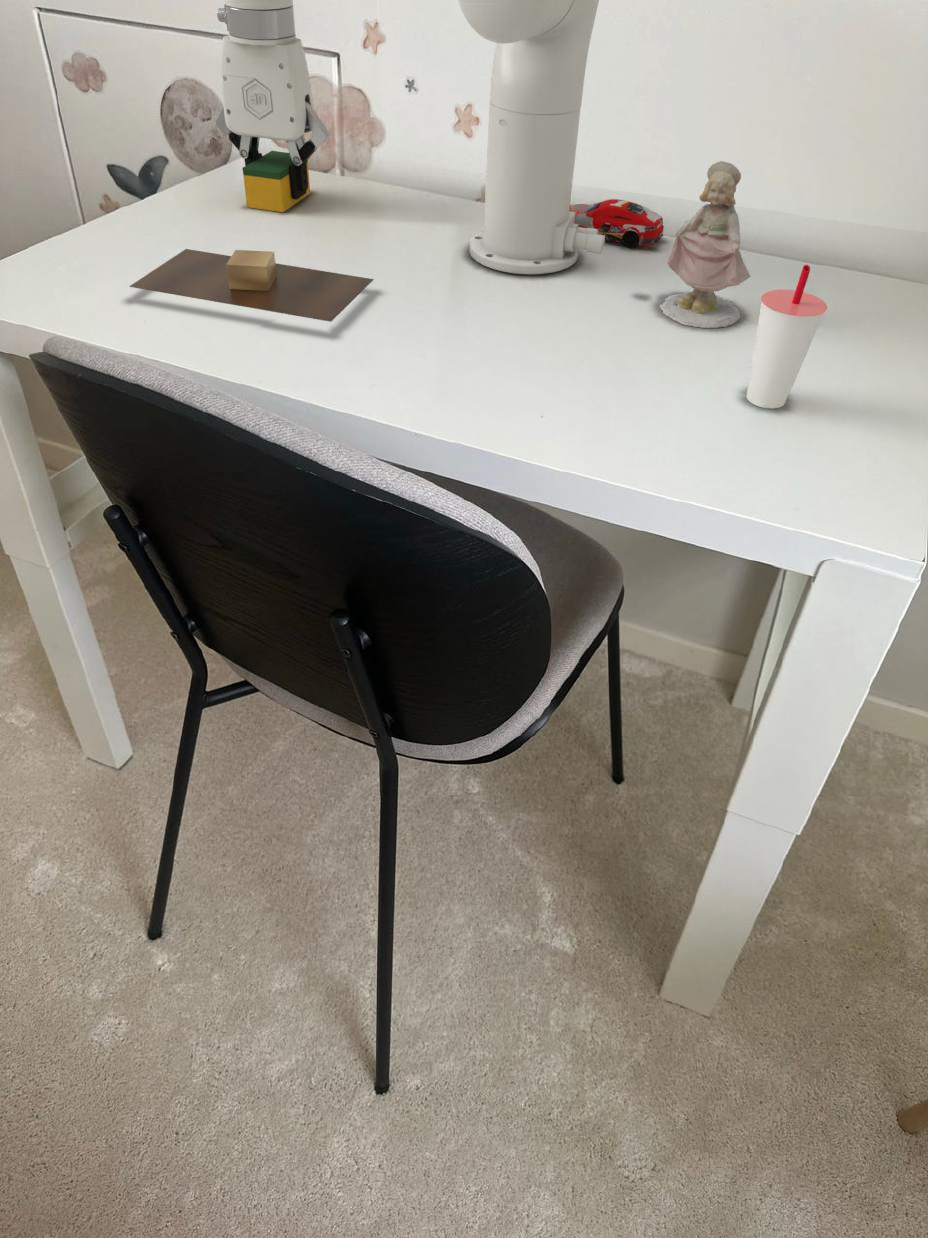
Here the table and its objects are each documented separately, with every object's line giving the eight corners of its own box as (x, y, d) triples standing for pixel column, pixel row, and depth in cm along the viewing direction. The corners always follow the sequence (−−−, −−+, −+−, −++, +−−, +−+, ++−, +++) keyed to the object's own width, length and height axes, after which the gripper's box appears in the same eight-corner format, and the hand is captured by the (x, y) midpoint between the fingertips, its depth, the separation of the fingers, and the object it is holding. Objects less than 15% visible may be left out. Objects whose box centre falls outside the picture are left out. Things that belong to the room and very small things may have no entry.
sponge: (310, 193, 117) (307, 154, 113) (283, 212, 111) (279, 172, 108) (275, 188, 118) (271, 150, 114) (247, 207, 112) (242, 167, 109)
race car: (548, 233, 109) (551, 199, 106) (563, 220, 112) (566, 186, 110) (652, 253, 105) (658, 218, 102) (664, 238, 109) (671, 204, 106)
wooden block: (276, 275, 93) (274, 251, 91) (269, 291, 90) (266, 266, 88) (238, 273, 93) (235, 249, 91) (229, 289, 90) (225, 264, 88)
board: (374, 292, 94) (373, 278, 93) (332, 335, 86) (331, 321, 85) (188, 262, 98) (185, 248, 97) (132, 300, 90) (129, 286, 89)
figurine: (628, 318, 90) (660, 152, 84) (637, 311, 99) (667, 161, 92) (737, 335, 88) (778, 166, 82) (736, 326, 97) (773, 174, 90)
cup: (796, 418, 77) (840, 281, 69) (733, 408, 78) (769, 272, 70) (796, 390, 81) (838, 257, 73) (736, 380, 82) (771, 248, 74)
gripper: (177, 22, 100) (204, 193, 113) (316, 36, 97) (328, 211, 109) (210, 12, 106) (232, 176, 118) (343, 25, 102) (352, 193, 115)
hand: (278, 191), depth 113 cm, fingers closed on sponge, 5 cm apart
